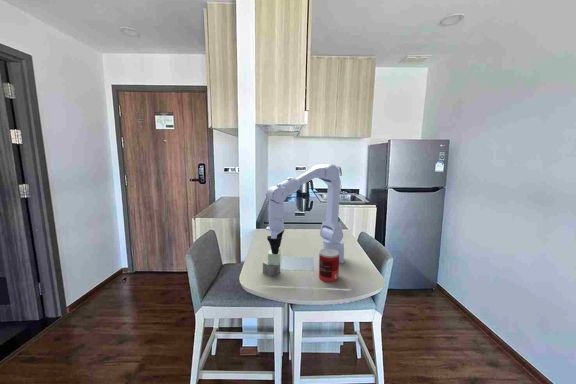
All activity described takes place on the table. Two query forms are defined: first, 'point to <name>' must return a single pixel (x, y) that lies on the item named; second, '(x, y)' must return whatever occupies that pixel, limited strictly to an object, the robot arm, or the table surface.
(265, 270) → the dice cube
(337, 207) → the robot arm
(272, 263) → the sage brick
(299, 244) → the table surface
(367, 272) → the table surface
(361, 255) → the table surface
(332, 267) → the canned food
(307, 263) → the plate
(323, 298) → the table surface
